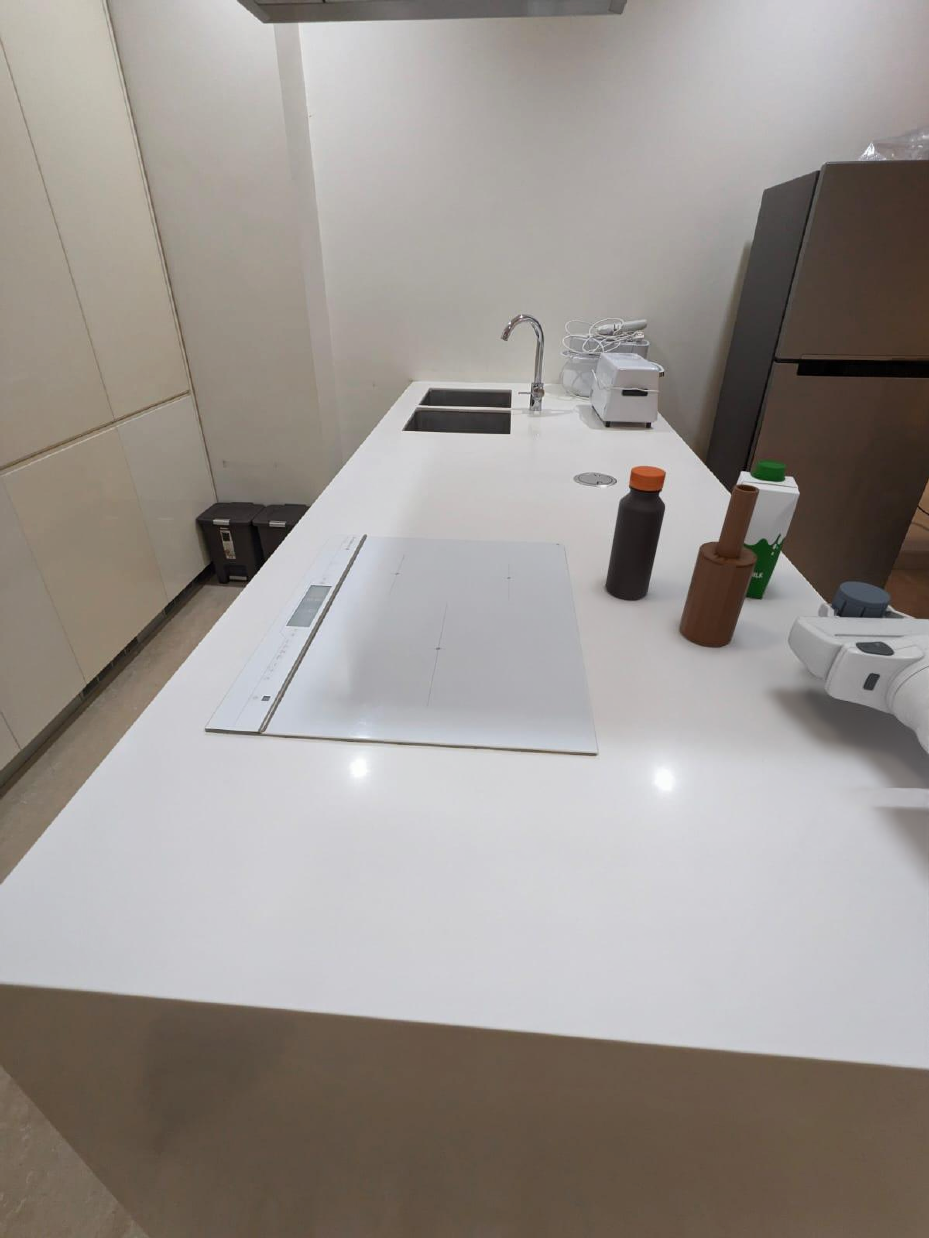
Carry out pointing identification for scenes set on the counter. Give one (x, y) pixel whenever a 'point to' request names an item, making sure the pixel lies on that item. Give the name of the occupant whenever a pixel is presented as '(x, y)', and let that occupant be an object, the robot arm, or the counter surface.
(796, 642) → the robot arm
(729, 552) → the bottle
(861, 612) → the cylinder
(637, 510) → the vinegar
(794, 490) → the milk carton
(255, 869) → the counter surface
